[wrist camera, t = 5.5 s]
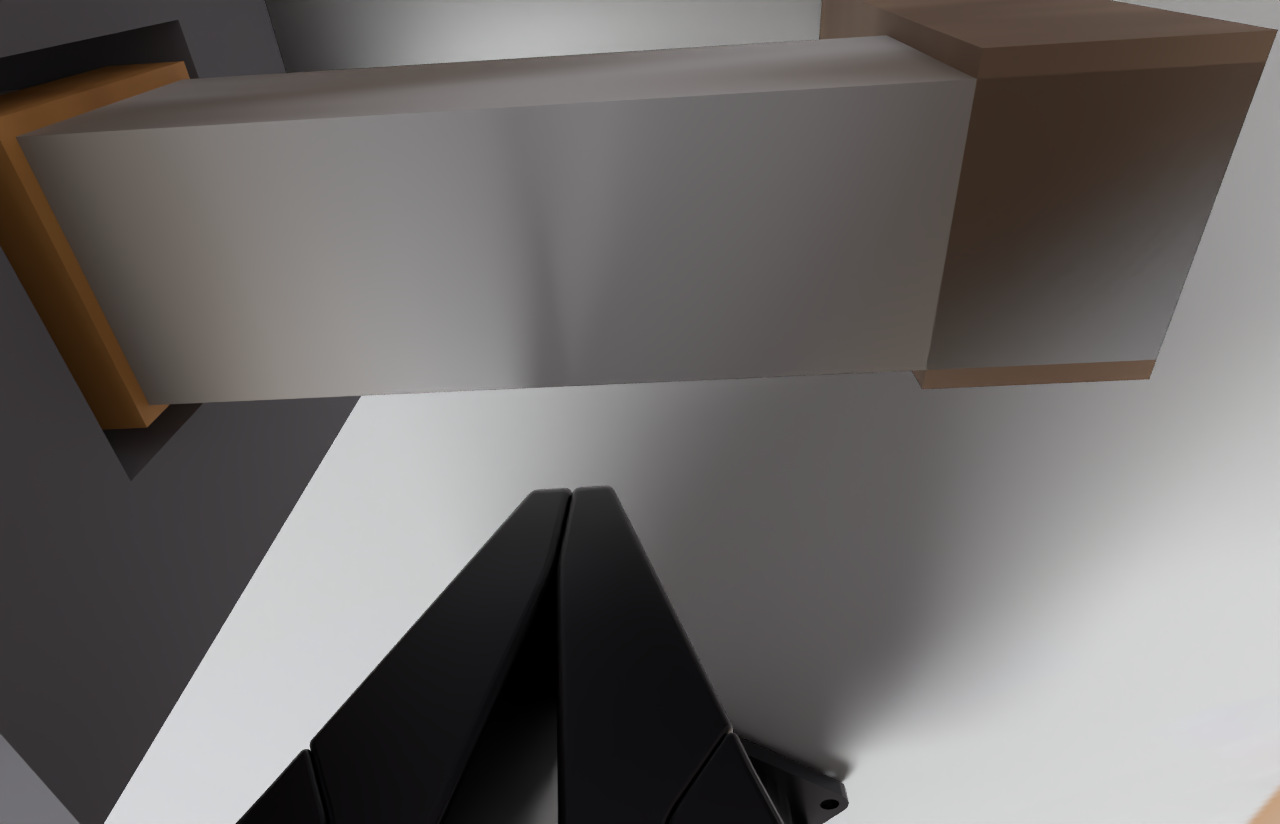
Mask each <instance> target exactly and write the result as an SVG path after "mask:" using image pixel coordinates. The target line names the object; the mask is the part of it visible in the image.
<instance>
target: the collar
mask: <svg viewBox="0 0 1280 824" xmlns="http://www.w3.org/2000/svg"><path fill="white" fill-rule="evenodd" d="M178 61H184V63H185V66H186V69H187V72H188V74H189V77H190V79H199V78H215V77H230V76H246V75H262V74H278V73H286V71H285V68H284V64H283V61H282V58H281V54H280V51H279V47H278V44H277V41H276V37H275V34H274V30H273V27H272V24H271V20H270V17H269V13H268V10H267V7H266V3H265V0H0V91H7V90H21V89H25V88H29V87H32V86H36V85H40V84H43V83H47V82H51V81H54V80H58V79H62V78H65V77H69V76H73V75H77V74H80V73H84V72H88V71H91V70H95V69H99V68H102V67H106V66H115V65H131V64H146V63H162V62H178ZM360 397H361V396H341V397H319V398H297V399H275V400H253V401H231V402H209V403H187V404H170V405H169V406H168V407H167V408H166V409H165V410H164V411H163V412H162V413H161V414H160V415H159V416H158V417H157V418H156V419H155V420H154V421H153V422H152V423H151V424H150V425H149V426H148V427H147V428H129V429H106V430H102V429H101V427H100V425H99V423H98V421H97V420H96V418H95V416H94V414H93V412H92V411H91V409H90V407H89V405H88V403H87V402H86V400H85V398H84V396H83V394H82V392H81V391H80V389H79V387H78V385H77V383H76V382H75V380H74V378H73V376H72V374H71V373H70V371H69V369H68V367H67V365H66V364H65V362H64V360H63V358H62V356H61V354H60V353H59V351H58V349H57V347H56V345H55V344H54V342H53V340H52V338H51V336H50V335H49V333H48V331H47V329H46V327H45V326H44V324H43V322H42V320H41V318H40V316H39V315H38V313H37V311H36V309H35V307H34V306H33V304H32V302H31V300H30V298H29V297H28V295H27V293H26V291H25V289H24V288H23V286H22V284H21V282H20V280H19V278H18V277H17V275H16V273H15V271H14V269H13V268H12V266H11V264H10V262H9V260H8V259H7V257H6V255H5V253H4V251H3V249H2V248H1V246H0V824H104V822H105V821H106V819H107V817H108V816H109V814H110V812H111V811H112V809H113V807H114V806H115V804H116V802H117V801H118V799H119V797H120V796H121V794H122V792H123V791H124V789H125V787H126V786H127V784H128V782H129V781H130V779H131V777H132V776H133V774H134V772H135V771H136V769H137V767H138V766H139V764H140V762H141V761H142V759H143V757H144V756H145V754H146V752H147V751H148V749H149V747H150V746H151V744H152V742H153V741H154V739H155V737H156V736H157V734H158V732H159V731H160V729H161V727H162V726H163V724H164V722H165V721H166V719H167V717H168V716H169V714H170V712H171V711H172V709H173V707H174V706H175V704H176V702H177V701H178V699H179V698H180V696H181V694H182V693H183V691H184V689H185V688H186V686H187V684H188V683H189V681H190V679H191V678H192V676H193V674H194V673H195V671H196V669H197V668H198V666H199V664H200V663H201V661H202V659H203V658H204V656H205V654H206V653H207V651H208V649H209V648H210V646H211V644H212V643H213V641H214V639H215V638H216V636H217V634H218V633H219V631H220V629H221V628H222V626H223V624H224V623H225V621H226V619H227V618H228V616H229V614H230V613H231V611H232V609H233V608H234V606H235V604H236V603H237V601H238V599H239V598H240V596H241V594H242V593H243V591H244V589H245V588H246V586H247V584H248V583H249V581H250V579H251V578H252V576H253V574H254V573H255V571H256V570H257V568H258V566H259V565H260V563H261V561H262V560H263V558H264V556H265V555H266V553H267V551H268V550H269V548H270V546H271V545H272V543H273V541H274V540H275V538H276V536H277V535H278V533H279V531H280V530H281V528H282V526H283V525H284V523H285V521H286V520H287V518H288V516H289V515H290V513H291V511H292V510H293V508H294V506H295V505H296V503H297V501H298V500H299V498H300V496H301V495H302V493H303V491H304V490H305V488H306V486H307V485H308V483H309V481H310V480H311V478H312V476H313V475H314V473H315V471H316V470H317V468H318V466H319V465H320V463H321V461H322V460H323V458H324V456H325V455H326V453H327V451H328V450H329V448H330V446H331V445H332V443H333V441H334V440H335V438H336V437H337V435H338V433H339V432H340V430H341V428H342V427H343V425H344V423H345V422H346V420H347V418H348V417H349V415H350V413H351V412H352V410H353V408H354V407H355V405H356V403H357V402H358V400H359V398H360Z"/></svg>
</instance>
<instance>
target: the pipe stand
mask: <svg viewBox="0 0 1280 824" xmlns="http://www.w3.org/2000/svg"><path fill="white" fill-rule="evenodd" d="M1277 31H1278V30H1275V29H1270V28H1264V27H1258V26H1253V25H1247V24H1241V23H1236V22H1230V21H1224V20H1219V19H1213V18H1207V17H1201V16H1196V15H1190V14H1184V13H1179V12H1173V11H1167V10H1162V9H1156V8H1150V7H1145V6H1139V5H1133V4H1128V3H1122V2H1116V1H1111V0H822V6H821V21H820V36H819V40H805V41H789V42H773V43H757V44H741V45H725V46H709V47H693V48H677V49H661V50H645V51H629V52H613V53H597V54H581V55H565V56H549V57H534V58H518V59H502V60H486V61H470V62H454V63H438V64H422V65H406V66H390V67H374V68H358V69H342V70H326V71H310V72H294V73H278V74H262V75H246V76H230V77H215V78H199V79H190V77H189V74H188V72H187V69H186V66H185V63H184V61H178V62H162V63H146V64H131V65H115V66H106V67H102V68H99V69H95V70H91V71H88V72H84V73H80V74H77V75H73V76H69V77H65V78H62V79H58V80H54V81H51V82H47V83H43V84H40V85H36V86H32V87H29V88H25V89H21V90H7V91H0V246H1V248H2V249H3V251H4V253H5V255H6V257H7V259H8V260H9V262H10V264H11V266H12V268H13V269H14V271H15V273H16V275H17V277H18V278H19V280H20V282H21V284H22V286H23V288H24V289H25V291H26V293H27V295H28V297H29V298H30V300H31V302H32V304H33V306H34V307H35V309H36V311H37V313H38V315H39V316H40V318H41V320H42V322H43V324H44V326H45V327H46V329H47V331H48V333H49V335H50V336H51V338H52V340H53V342H54V344H55V345H56V347H57V349H58V351H59V353H60V354H61V356H62V358H63V360H64V362H65V364H66V365H67V367H68V369H69V371H70V373H71V374H72V376H73V378H74V380H75V382H76V383H77V385H78V387H79V389H80V391H81V392H82V394H83V396H84V398H85V400H86V402H87V403H88V405H89V407H90V409H91V411H92V412H93V414H94V416H95V418H96V420H97V421H98V423H99V425H100V427H101V429H102V430H106V429H129V428H147V427H148V426H149V425H150V424H151V423H152V422H153V421H154V420H155V419H156V418H157V417H158V416H159V415H160V414H161V413H162V412H163V411H164V410H165V409H166V408H167V407H168V406H169V405H170V404H187V403H209V402H231V401H253V400H275V399H297V398H319V397H341V396H363V395H385V394H407V393H430V392H452V391H474V390H496V389H518V388H540V387H562V386H584V385H606V384H628V383H650V382H673V381H695V380H717V379H739V378H761V377H783V376H805V375H827V374H849V373H871V372H893V371H912V372H913V374H914V376H915V377H916V379H917V381H918V383H919V384H920V386H921V388H922V389H937V388H960V387H982V386H1005V385H1028V384H1050V383H1073V382H1095V381H1118V380H1141V379H1149V378H1150V375H1151V373H1152V370H1153V367H1154V365H1155V362H1156V359H1157V356H1158V354H1159V351H1160V348H1161V346H1162V343H1163V340H1164V337H1165V335H1166V332H1167V329H1168V327H1169V324H1170V321H1171V318H1172V316H1173V313H1174V310H1175V308H1176V305H1177V302H1178V299H1179V297H1180V294H1181V291H1182V289H1183V286H1184V283H1185V280H1186V278H1187V275H1188V272H1189V270H1190V267H1191V264H1192V261H1193V259H1194V256H1195V253H1196V251H1197V248H1198V245H1199V242H1200V240H1201V237H1202V234H1203V232H1204V229H1205V226H1206V223H1207V221H1208V218H1209V215H1210V213H1211V210H1212V207H1213V204H1214V202H1215V199H1216V196H1217V194H1218V191H1219V188H1220V185H1221V183H1222V180H1223V177H1224V175H1225V172H1226V169H1227V166H1228V164H1229V161H1230V158H1231V156H1232V153H1233V150H1234V147H1235V145H1236V142H1237V139H1238V137H1239V134H1240V131H1241V128H1242V126H1243V123H1244V120H1245V118H1246V115H1247V112H1248V109H1249V107H1250V104H1251V101H1252V99H1253V96H1254V93H1255V90H1256V88H1257V85H1258V82H1259V80H1260V77H1261V74H1262V71H1263V69H1264V66H1265V63H1266V61H1267V58H1268V55H1269V52H1270V50H1271V47H1272V44H1273V42H1274V39H1275V36H1276V33H1277Z"/></svg>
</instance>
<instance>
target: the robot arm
mask: <svg viewBox="0 0 1280 824" xmlns="http://www.w3.org/2000/svg"><path fill="white" fill-rule="evenodd" d="M310 749H311V751H310V750H309V749H304V750H302V751H301V752H300V753H299V754H298V755H297V757H296V758H295V759H294V760H293V761H292V762H291V763H290V764H289V766H288V767H287V768H286V769H285V770H284V771H283V772H282V773H281V775H280V776H279V777H278V778H277V779H276V780H275V781H274V783H273V784H272V785H271V786H270V787H269V788H268V789H267V790H266V791H265V792H264V794H263V795H262V796H261V797H260V798H259V799H258V800H257V801H256V802H255V803H254V804H253V805H252V807H251V808H250V809H249V810H248V811H247V812H246V813H245V814H244V815H243V816H242V817H241V818H240V820H239V821H238V822H237V823H236V824H823V823H825V822H826V821H828V820H829V819H831V818H832V817H834V816H836V815H837V814H839V813H840V812H842V811H843V810H845V809H846V808H847V807H848V804H849V802H848V797H847V793H846V789H845V786H844V784H843V783H841V782H840V781H838V780H835V779H833V778H831V777H828V776H826V775H824V774H822V773H819V772H817V771H815V770H813V769H810V768H808V767H806V766H804V765H801V764H799V763H797V762H794V761H792V760H790V759H788V758H785V757H783V756H781V755H779V754H776V753H774V752H772V751H770V750H767V749H765V748H763V747H761V746H758V745H756V744H754V743H751V742H749V741H747V740H745V739H742V738H740V737H738V735H737V734H735V733H733V727H732V724H731V722H730V720H729V718H728V716H727V714H726V712H725V710H724V708H723V706H722V704H721V702H720V700H719V698H718V696H717V694H716V692H715V690H714V688H713V686H712V684H711V682H710V680H709V678H708V676H707V674H706V672H705V670H704V668H703V666H702V664H701V662H700V660H699V658H698V656H697V654H696V652H695V650H694V648H693V646H692V644H691V642H690V640H689V638H688V636H687V634H686V632H685V630H684V628H683V626H682V624H681V622H680V620H679V618H678V616H677V615H676V613H675V611H674V609H673V607H672V605H671V603H670V601H669V599H668V597H667V595H666V593H665V591H664V589H663V587H662V585H661V583H660V581H659V579H658V577H657V575H656V573H655V571H654V569H653V567H652V565H651V563H650V561H649V559H648V557H647V555H646V553H645V551H644V549H643V547H642V545H641V543H640V541H639V539H638V537H637V535H636V533H635V531H634V529H633V527H632V525H631V523H630V521H629V519H628V517H627V515H626V513H625V511H624V509H623V507H622V505H621V503H620V501H619V499H618V497H617V495H616V493H615V491H614V489H613V488H612V487H610V486H592V487H579V488H576V489H575V490H574V491H573V493H572V492H571V490H569V489H568V488H557V489H538V490H534V491H532V492H531V493H530V494H529V495H528V496H527V497H526V498H525V499H524V500H523V501H522V502H521V504H520V505H519V506H518V507H517V508H516V509H515V510H514V512H513V513H512V514H511V515H510V516H509V517H508V518H507V519H506V521H505V522H504V523H503V524H502V525H501V526H500V527H499V529H498V530H497V531H496V532H495V533H494V534H493V535H492V536H491V538H490V539H489V540H488V541H487V542H486V543H485V544H484V545H483V547H482V548H481V549H480V550H479V551H478V552H477V553H476V555H475V556H474V557H473V558H472V559H471V560H470V561H469V562H468V564H467V565H466V566H465V567H464V568H463V569H462V570H461V572H460V573H459V574H458V575H457V576H456V577H455V578H454V579H453V581H452V582H451V583H450V584H449V585H448V586H447V587H446V588H445V590H444V591H443V592H442V593H441V594H440V595H439V596H438V598H437V599H436V600H435V601H434V602H433V603H432V604H431V605H430V607H429V608H428V609H427V610H426V611H425V612H424V613H423V614H422V616H421V617H420V618H419V619H418V620H417V621H416V622H415V624H414V625H413V626H412V627H411V628H410V629H409V630H408V631H407V633H406V634H405V635H404V636H403V637H402V638H401V639H400V641H399V642H398V643H397V644H396V645H395V646H394V647H393V648H392V650H391V651H390V652H389V653H388V654H387V655H386V656H385V657H384V659H383V660H382V661H381V662H380V663H379V664H378V665H377V667H376V668H375V669H374V670H373V671H372V672H371V673H370V674H369V676H368V677H367V678H366V679H365V680H364V681H363V682H362V684H361V685H360V686H359V687H358V688H357V689H356V690H355V691H354V693H353V694H352V695H351V696H350V697H349V698H348V699H347V700H346V702H345V703H344V704H343V705H342V706H341V707H340V708H339V710H338V711H337V712H336V713H335V714H334V715H333V716H332V717H331V719H330V720H329V721H328V722H327V723H326V724H325V725H324V726H323V728H322V729H321V730H320V731H319V732H318V733H317V734H316V736H315V737H314V738H313V739H312V740H311V742H310Z"/></svg>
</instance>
